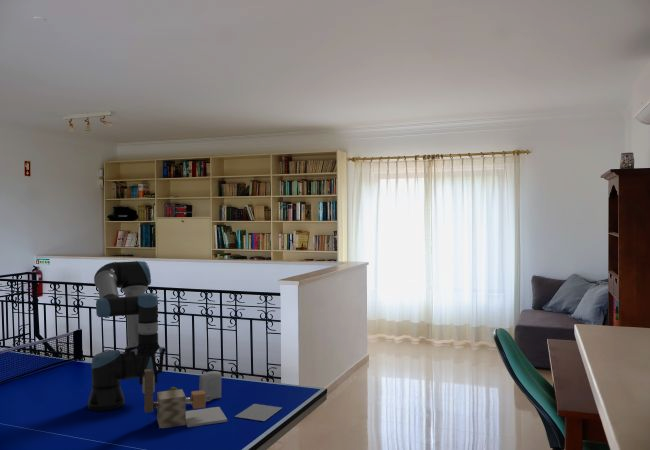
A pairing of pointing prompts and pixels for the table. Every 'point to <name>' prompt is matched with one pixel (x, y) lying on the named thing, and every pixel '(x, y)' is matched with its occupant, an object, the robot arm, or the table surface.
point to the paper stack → (258, 412)
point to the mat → (205, 417)
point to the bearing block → (171, 408)
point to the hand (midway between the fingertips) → (148, 391)
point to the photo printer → (211, 384)
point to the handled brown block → (149, 393)
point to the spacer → (198, 399)
